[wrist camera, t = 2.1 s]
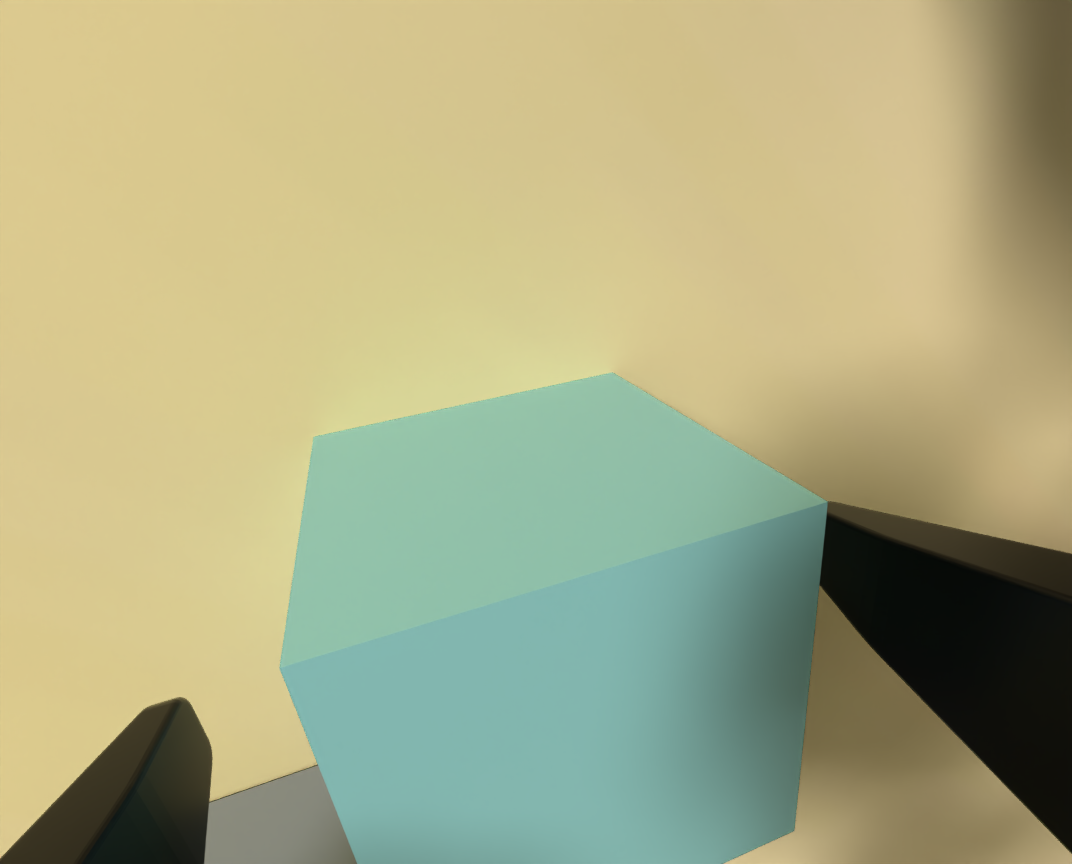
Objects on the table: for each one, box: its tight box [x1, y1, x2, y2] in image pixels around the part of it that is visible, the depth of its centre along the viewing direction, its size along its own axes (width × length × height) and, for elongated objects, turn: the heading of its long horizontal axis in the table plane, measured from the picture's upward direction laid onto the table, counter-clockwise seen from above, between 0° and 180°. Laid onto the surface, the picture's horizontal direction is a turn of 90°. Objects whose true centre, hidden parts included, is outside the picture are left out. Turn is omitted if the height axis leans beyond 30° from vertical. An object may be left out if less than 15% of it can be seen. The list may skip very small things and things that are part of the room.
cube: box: [280, 373, 828, 864], centre depth 8 cm, size 5×5×5 cm
